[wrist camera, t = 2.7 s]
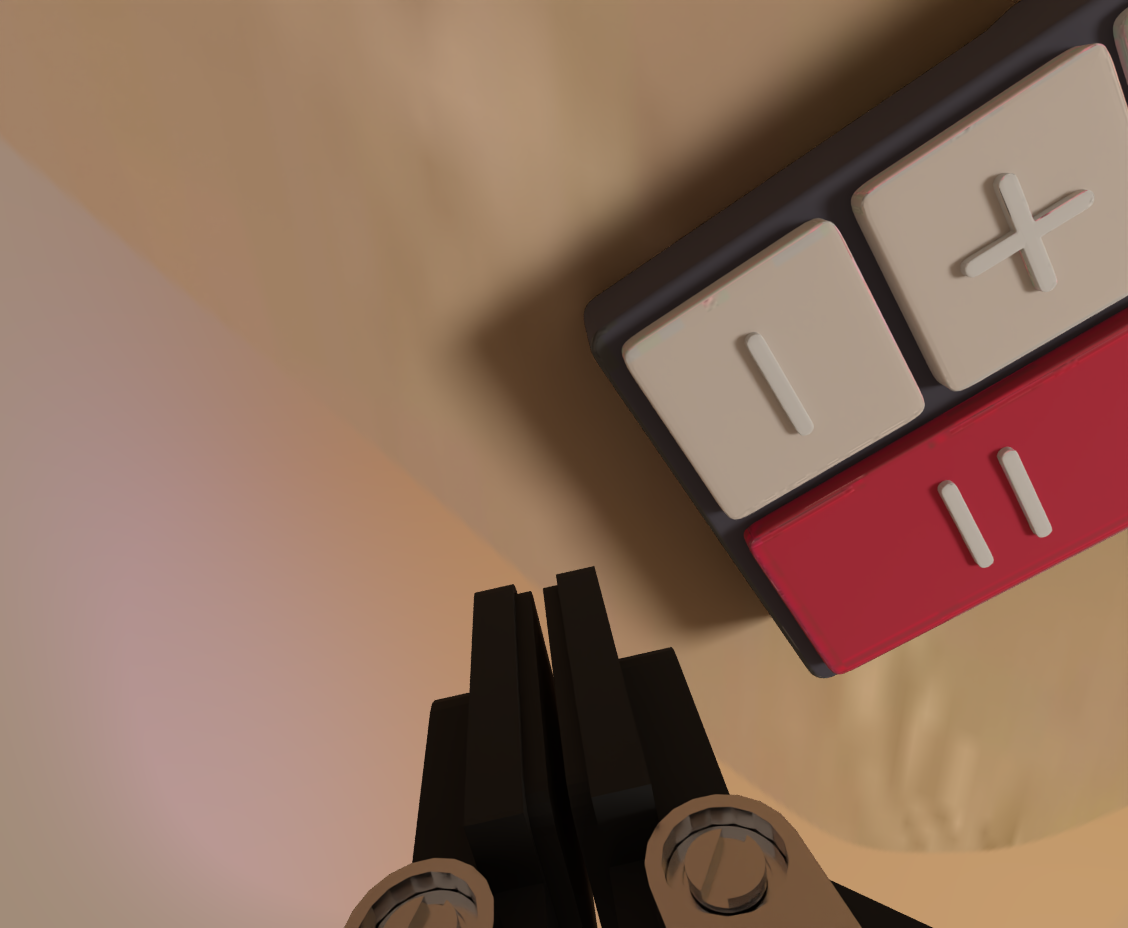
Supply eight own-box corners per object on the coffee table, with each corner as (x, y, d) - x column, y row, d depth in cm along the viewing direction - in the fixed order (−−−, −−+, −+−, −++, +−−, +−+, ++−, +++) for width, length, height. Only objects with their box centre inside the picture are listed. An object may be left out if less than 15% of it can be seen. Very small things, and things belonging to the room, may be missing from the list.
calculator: (583, 351, 15) (1398, -192, 12) (573, 303, 19) (1179, -111, 15) (829, 708, 19) (1487, 375, 15) (778, 606, 22) (1295, 324, 19)
